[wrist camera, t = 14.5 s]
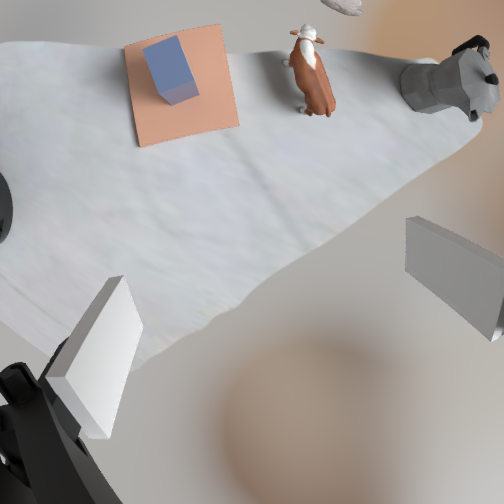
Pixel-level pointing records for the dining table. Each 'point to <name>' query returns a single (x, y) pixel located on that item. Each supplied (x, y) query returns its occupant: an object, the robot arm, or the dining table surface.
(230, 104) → the plate
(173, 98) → the block
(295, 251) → the dining table surface
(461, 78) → the coffeepot
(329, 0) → the fossil
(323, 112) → the bull figurine
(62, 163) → the dining table surface
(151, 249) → the dining table surface
